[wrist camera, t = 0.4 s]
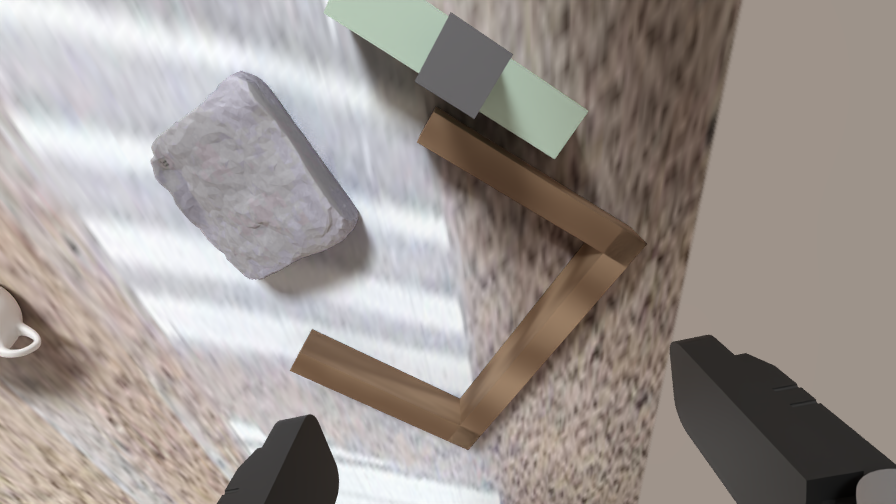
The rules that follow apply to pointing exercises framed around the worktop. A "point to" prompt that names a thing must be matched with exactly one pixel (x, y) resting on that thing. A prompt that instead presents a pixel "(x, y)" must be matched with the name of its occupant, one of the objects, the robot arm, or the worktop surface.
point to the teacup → (14, 327)
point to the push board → (505, 96)
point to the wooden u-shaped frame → (535, 335)
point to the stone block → (252, 179)
